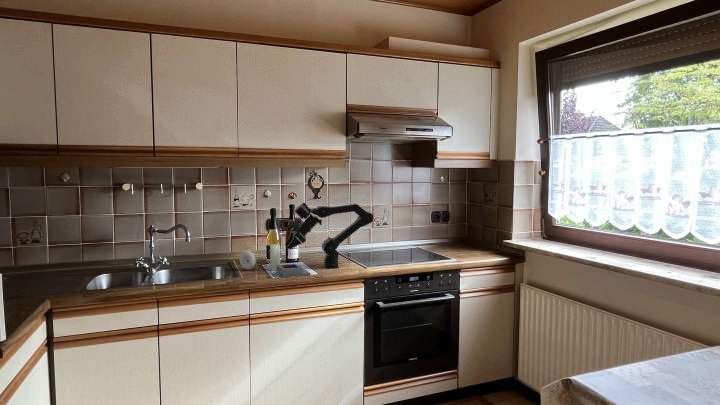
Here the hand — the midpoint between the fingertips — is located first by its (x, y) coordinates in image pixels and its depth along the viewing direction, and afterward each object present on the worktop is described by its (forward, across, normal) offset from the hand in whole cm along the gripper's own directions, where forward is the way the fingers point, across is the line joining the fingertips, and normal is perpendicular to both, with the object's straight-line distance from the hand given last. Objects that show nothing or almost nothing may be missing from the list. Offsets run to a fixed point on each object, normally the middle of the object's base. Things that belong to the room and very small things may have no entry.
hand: (286, 246), depth 231 cm
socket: (+7, +10, +10) cm, 16 cm away
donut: (+22, -3, -5) cm, 23 cm away
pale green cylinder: (+12, 0, +4) cm, 13 cm away
